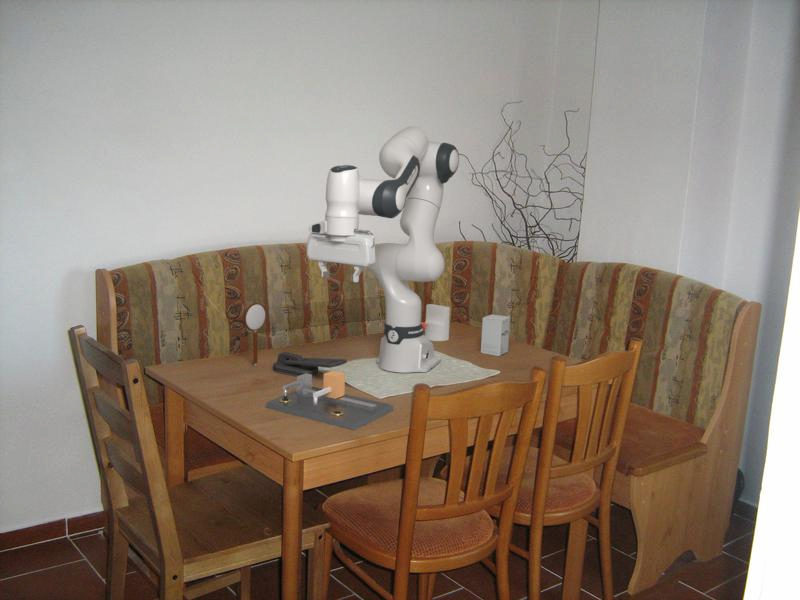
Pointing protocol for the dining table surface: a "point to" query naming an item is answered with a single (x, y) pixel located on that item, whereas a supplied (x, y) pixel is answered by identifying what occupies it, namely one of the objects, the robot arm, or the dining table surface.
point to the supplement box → (495, 334)
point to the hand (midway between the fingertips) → (339, 280)
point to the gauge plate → (328, 405)
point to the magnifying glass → (255, 323)
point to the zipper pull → (302, 364)
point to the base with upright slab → (437, 322)
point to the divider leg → (331, 386)
